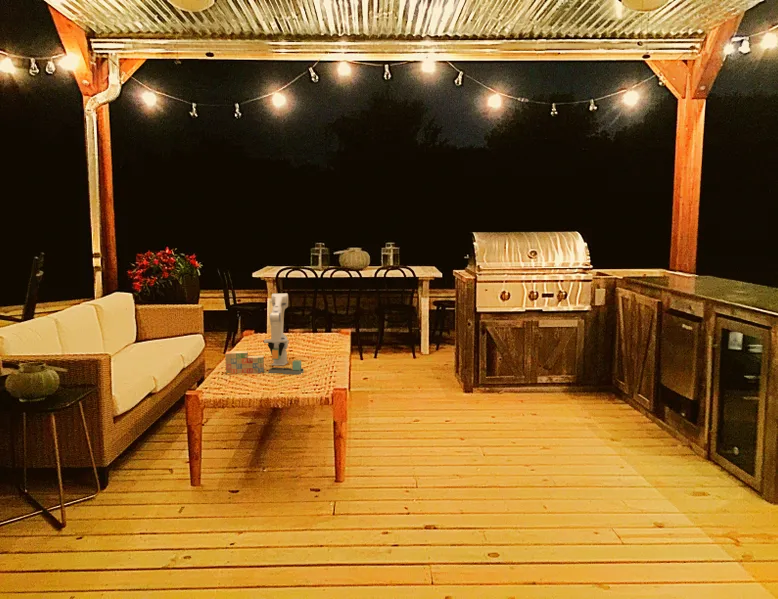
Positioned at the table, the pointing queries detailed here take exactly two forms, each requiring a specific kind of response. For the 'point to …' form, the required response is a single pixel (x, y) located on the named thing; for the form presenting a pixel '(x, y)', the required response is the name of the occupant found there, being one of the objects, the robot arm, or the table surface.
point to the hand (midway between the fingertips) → (276, 355)
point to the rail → (289, 369)
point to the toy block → (275, 354)
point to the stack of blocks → (243, 362)
